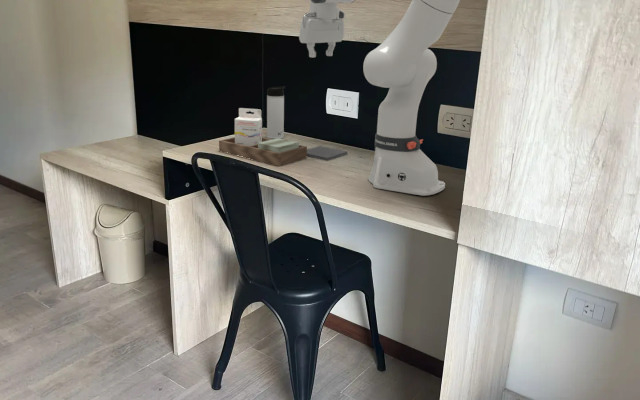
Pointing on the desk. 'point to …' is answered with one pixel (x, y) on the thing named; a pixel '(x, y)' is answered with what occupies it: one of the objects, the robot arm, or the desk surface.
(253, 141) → the ink cartridge box
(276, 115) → the travel mug
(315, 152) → the mat
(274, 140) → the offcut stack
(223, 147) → the wooden tray
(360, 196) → the desk surface
